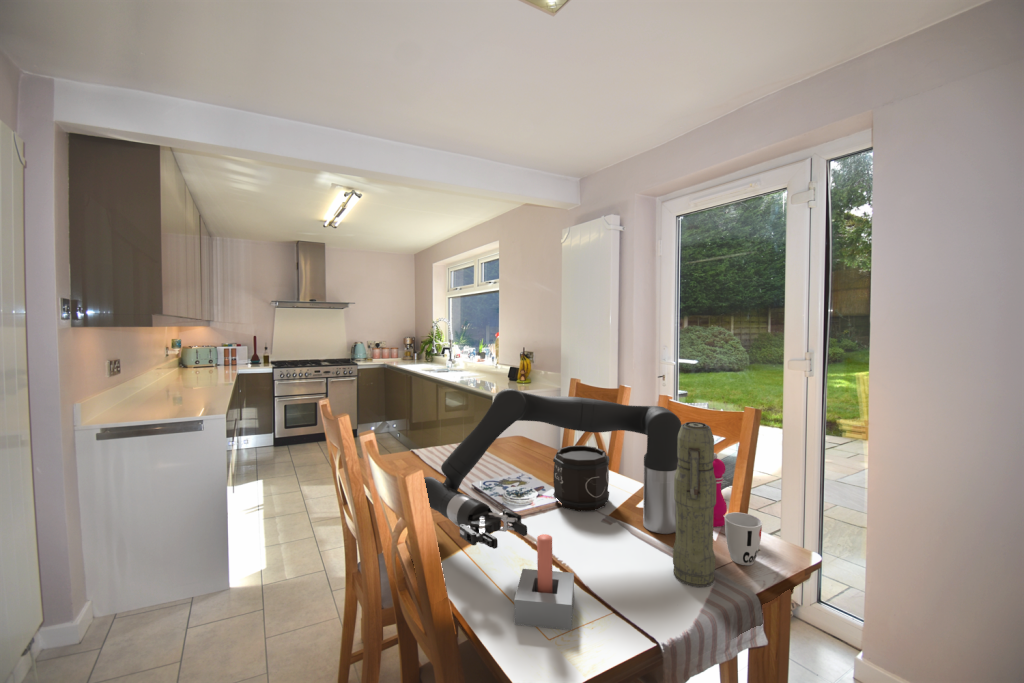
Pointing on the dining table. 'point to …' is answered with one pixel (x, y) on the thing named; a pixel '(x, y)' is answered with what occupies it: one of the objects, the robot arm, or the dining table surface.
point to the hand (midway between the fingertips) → (511, 537)
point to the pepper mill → (719, 494)
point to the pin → (544, 563)
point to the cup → (743, 537)
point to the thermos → (694, 506)
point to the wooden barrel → (581, 477)
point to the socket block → (545, 601)
